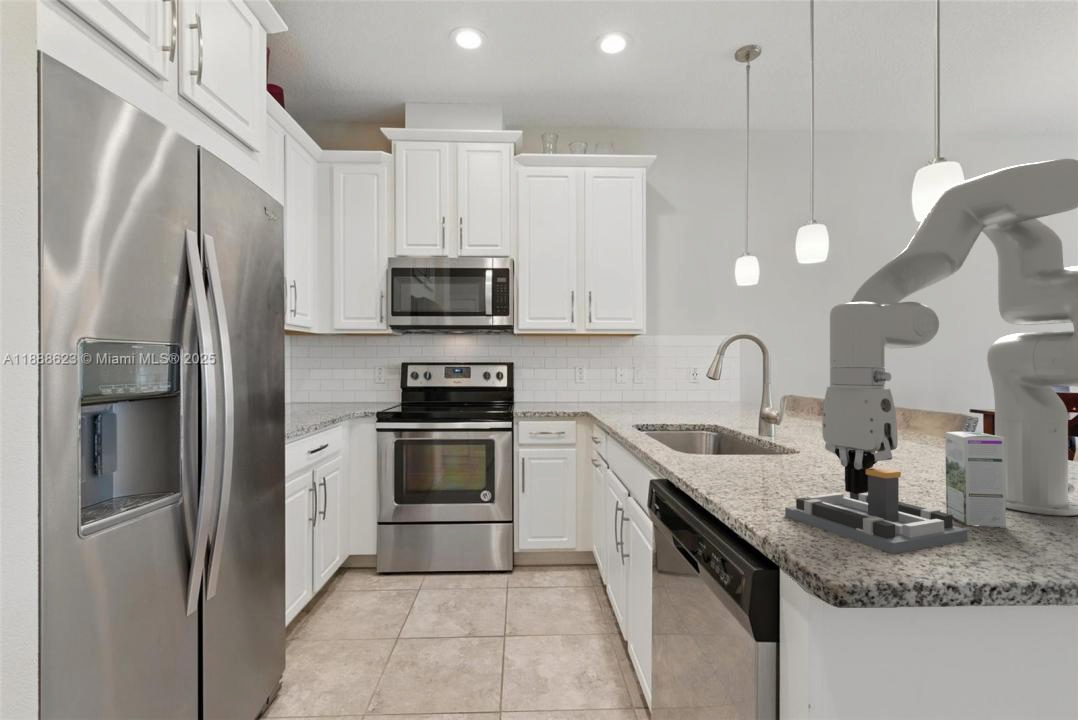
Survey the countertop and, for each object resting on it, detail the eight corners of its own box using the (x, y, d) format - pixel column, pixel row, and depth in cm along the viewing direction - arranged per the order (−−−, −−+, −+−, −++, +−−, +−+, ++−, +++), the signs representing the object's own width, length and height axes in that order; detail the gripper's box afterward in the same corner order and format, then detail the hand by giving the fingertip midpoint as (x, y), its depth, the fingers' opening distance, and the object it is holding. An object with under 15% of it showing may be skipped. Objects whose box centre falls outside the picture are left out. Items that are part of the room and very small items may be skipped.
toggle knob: (880, 515, 79) (879, 467, 80) (900, 521, 76) (900, 471, 77) (865, 517, 78) (865, 469, 78) (886, 523, 75) (886, 473, 75)
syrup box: (1008, 528, 79) (1007, 436, 79) (964, 526, 80) (964, 435, 80) (983, 517, 85) (983, 431, 85) (943, 515, 86) (943, 430, 86)
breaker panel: (852, 507, 91) (852, 489, 91) (967, 539, 74) (967, 518, 74) (785, 516, 85) (785, 498, 85) (893, 554, 68) (893, 531, 68)
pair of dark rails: (858, 501, 89) (858, 489, 89) (954, 526, 75) (954, 513, 75) (794, 509, 84) (794, 497, 84) (884, 539, 70) (884, 524, 70)
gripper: (920, 380, 76) (921, 501, 76) (832, 377, 90) (832, 480, 90) (886, 380, 73) (886, 506, 73) (800, 377, 87) (800, 483, 87)
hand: (856, 491), depth 81 cm, fingers closed
